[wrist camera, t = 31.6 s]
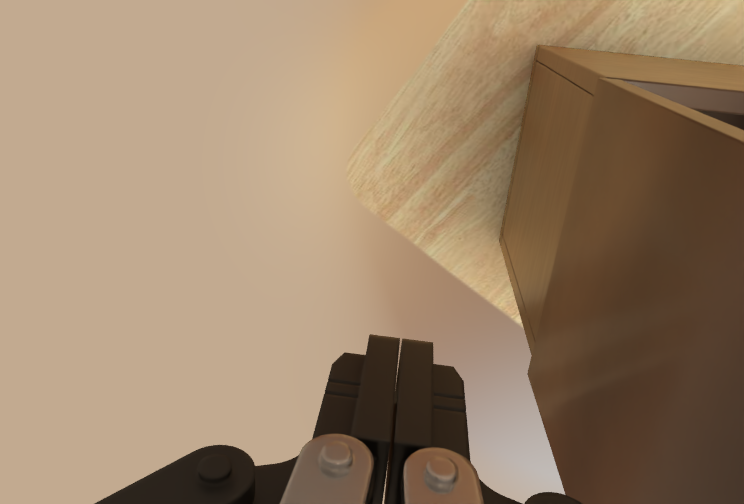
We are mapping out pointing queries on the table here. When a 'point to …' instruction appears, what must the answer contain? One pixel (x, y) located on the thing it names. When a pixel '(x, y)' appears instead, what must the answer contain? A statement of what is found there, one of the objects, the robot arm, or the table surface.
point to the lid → (647, 309)
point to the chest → (564, 141)
